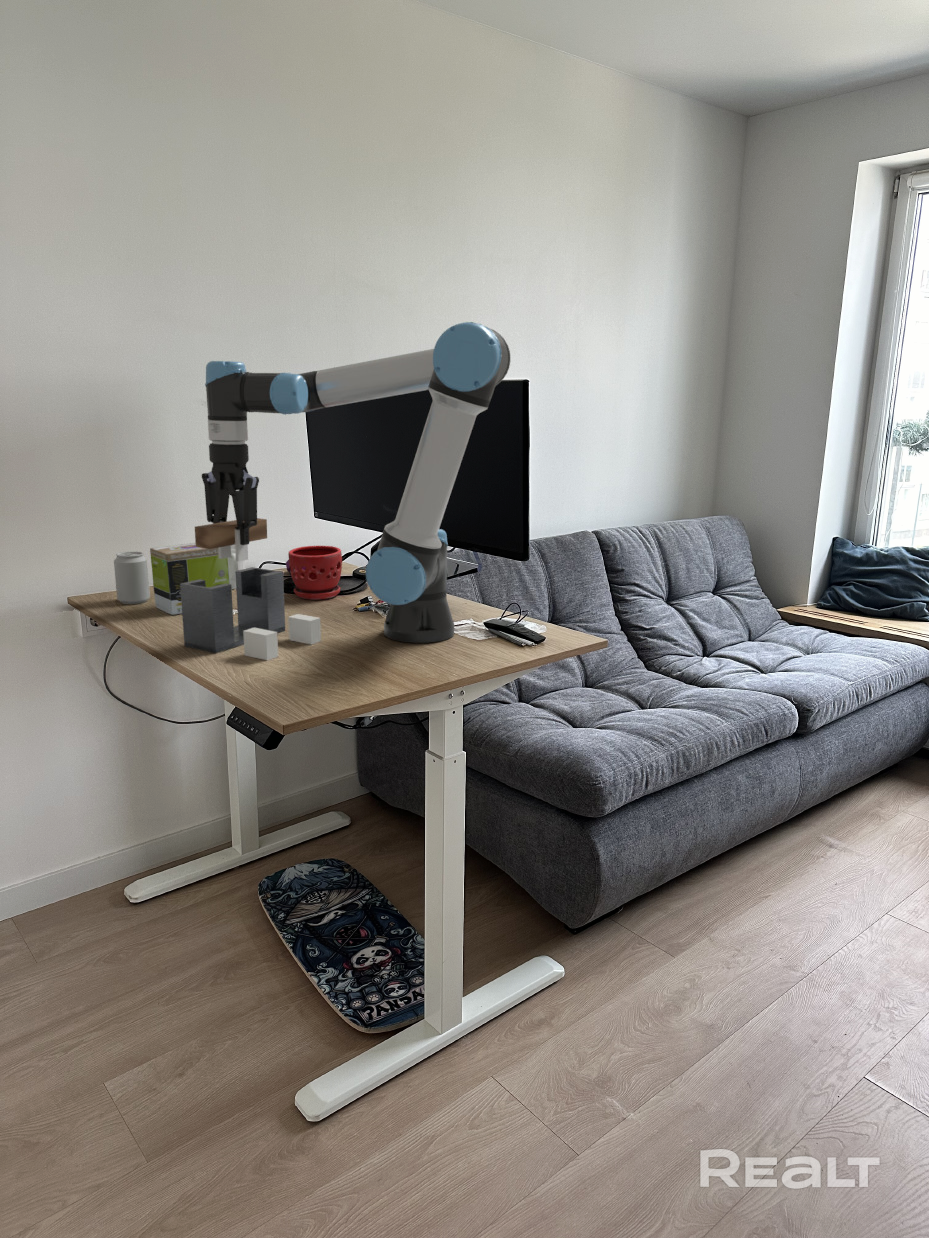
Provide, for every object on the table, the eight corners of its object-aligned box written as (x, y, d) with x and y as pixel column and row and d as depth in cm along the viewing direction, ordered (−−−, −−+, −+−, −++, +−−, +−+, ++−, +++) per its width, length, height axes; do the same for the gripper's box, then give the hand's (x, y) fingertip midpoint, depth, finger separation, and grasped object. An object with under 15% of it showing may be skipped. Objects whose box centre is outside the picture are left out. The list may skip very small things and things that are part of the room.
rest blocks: (320, 641, 182) (320, 617, 180) (267, 660, 168) (266, 635, 167) (298, 636, 184) (297, 613, 183) (244, 655, 171) (243, 630, 170)
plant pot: (293, 590, 226) (292, 545, 223) (344, 590, 227) (343, 545, 224) (286, 602, 214) (284, 554, 211) (340, 602, 215) (339, 554, 212)
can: (131, 606, 207) (126, 557, 204) (110, 602, 211) (106, 553, 208) (156, 600, 214) (153, 552, 211) (136, 596, 217) (132, 549, 214)
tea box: (213, 598, 216) (209, 540, 213) (231, 606, 209) (228, 545, 205) (153, 607, 207) (149, 546, 203) (171, 616, 200) (166, 552, 196)
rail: (267, 538, 183) (266, 519, 182) (210, 549, 169) (209, 528, 168) (253, 536, 185) (252, 517, 184) (195, 546, 171) (194, 526, 170)
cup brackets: (285, 630, 189) (283, 571, 186) (215, 653, 172) (212, 589, 169) (255, 624, 193) (252, 567, 190) (184, 646, 176) (180, 583, 173)
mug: (212, 584, 232) (210, 545, 229) (242, 582, 235) (240, 543, 232) (222, 594, 221) (219, 553, 218) (253, 591, 225) (251, 551, 222)
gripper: (183, 440, 173) (189, 556, 179) (247, 445, 165) (251, 567, 171) (211, 439, 179) (216, 551, 185) (274, 444, 171) (277, 561, 177)
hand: (233, 558), depth 178 cm, fingers closed on rail, 4 cm apart
